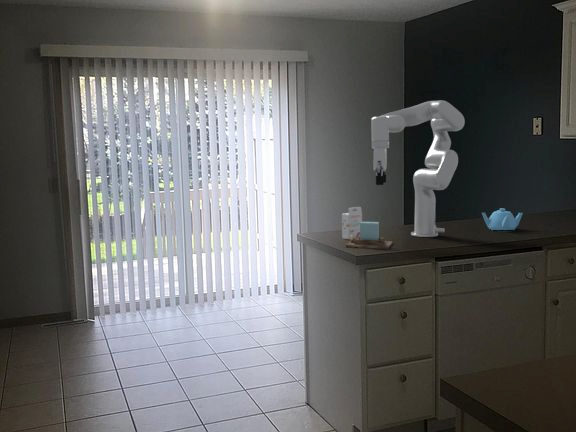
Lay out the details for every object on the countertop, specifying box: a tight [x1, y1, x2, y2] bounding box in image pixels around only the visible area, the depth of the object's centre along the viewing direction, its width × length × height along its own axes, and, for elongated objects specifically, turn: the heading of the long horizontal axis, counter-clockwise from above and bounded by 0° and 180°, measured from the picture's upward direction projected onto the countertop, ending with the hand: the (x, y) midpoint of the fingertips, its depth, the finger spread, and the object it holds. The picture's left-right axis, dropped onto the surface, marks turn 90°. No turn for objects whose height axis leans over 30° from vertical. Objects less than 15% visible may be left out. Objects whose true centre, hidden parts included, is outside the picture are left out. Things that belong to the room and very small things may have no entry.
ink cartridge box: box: [341, 206, 363, 240], centre depth 296 cm, size 9×5×15 cm, turn 126°
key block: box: [360, 221, 380, 240], centre depth 276 cm, size 4×8×9 cm, turn 74°
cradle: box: [345, 235, 393, 250], centre depth 276 cm, size 18×14×4 cm
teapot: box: [481, 207, 523, 231], centre depth 319 cm, size 15×15×11 cm
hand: (381, 183), depth 282 cm, fingers open, 9 cm apart
